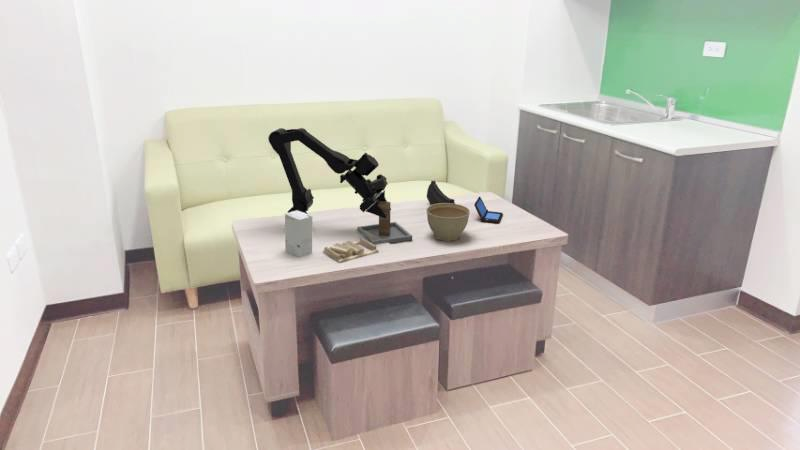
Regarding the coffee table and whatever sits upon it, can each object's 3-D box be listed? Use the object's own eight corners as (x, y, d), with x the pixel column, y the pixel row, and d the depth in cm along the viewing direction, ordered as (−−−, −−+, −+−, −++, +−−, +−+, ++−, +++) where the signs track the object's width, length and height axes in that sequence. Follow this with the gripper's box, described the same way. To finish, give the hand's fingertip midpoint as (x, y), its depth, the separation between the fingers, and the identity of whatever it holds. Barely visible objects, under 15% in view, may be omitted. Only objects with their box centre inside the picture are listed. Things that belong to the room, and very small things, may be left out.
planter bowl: (416, 236, 221) (417, 209, 218) (443, 226, 233) (444, 200, 229) (450, 248, 211) (451, 220, 207) (476, 237, 222) (478, 210, 219)
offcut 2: (344, 259, 199) (344, 255, 198) (329, 254, 203) (329, 250, 202) (352, 255, 202) (352, 251, 201) (337, 250, 206) (337, 246, 205)
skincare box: (285, 253, 205) (282, 213, 199) (298, 248, 209) (296, 209, 204) (300, 260, 200) (299, 219, 194) (314, 254, 204) (312, 214, 199)
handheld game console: (499, 225, 236) (500, 207, 233) (472, 221, 239) (473, 204, 236) (503, 215, 247) (504, 198, 244) (478, 212, 250) (479, 195, 247)
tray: (372, 246, 212) (372, 241, 211) (357, 231, 225) (357, 226, 225) (412, 240, 218) (412, 235, 217) (395, 226, 231) (395, 221, 231)
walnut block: (389, 236, 220) (389, 203, 215) (378, 235, 221) (378, 202, 216) (390, 234, 222) (390, 201, 217) (380, 233, 222) (380, 201, 218)
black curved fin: (460, 206, 228) (437, 166, 251) (452, 207, 227) (430, 166, 250) (453, 240, 238) (432, 198, 261) (446, 241, 238) (425, 199, 260)
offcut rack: (339, 265, 196) (339, 257, 195) (323, 254, 204) (322, 246, 203) (378, 254, 205) (378, 246, 204) (361, 244, 213) (361, 236, 212)
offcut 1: (346, 255, 199) (346, 251, 198) (330, 250, 202) (330, 246, 201) (353, 251, 202) (353, 247, 201) (337, 247, 205) (337, 243, 205)
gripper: (368, 176, 204) (398, 208, 206) (380, 163, 221) (407, 193, 224) (346, 196, 208) (376, 227, 210) (360, 181, 226) (387, 211, 228)
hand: (388, 214), depth 218 cm, fingers open, 8 cm apart
